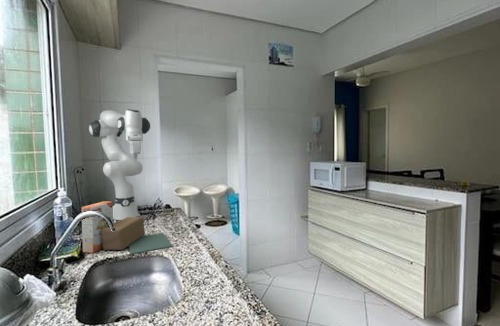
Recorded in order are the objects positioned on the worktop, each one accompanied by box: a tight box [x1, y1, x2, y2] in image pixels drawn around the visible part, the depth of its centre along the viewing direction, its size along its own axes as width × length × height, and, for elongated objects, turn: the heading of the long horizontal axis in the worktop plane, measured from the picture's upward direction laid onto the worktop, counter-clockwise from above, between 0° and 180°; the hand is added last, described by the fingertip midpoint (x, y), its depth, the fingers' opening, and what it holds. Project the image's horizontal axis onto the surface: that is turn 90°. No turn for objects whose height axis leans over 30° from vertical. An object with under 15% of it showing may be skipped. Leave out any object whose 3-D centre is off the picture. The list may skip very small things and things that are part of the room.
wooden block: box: [101, 216, 145, 251], centre depth 130 cm, size 10×10×20 cm
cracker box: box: [81, 200, 114, 254], centre depth 124 cm, size 14×6×21 cm, turn 171°
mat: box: [128, 232, 173, 255], centre depth 130 cm, size 22×18×1 cm
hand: (135, 161), depth 152 cm, fingers closed
